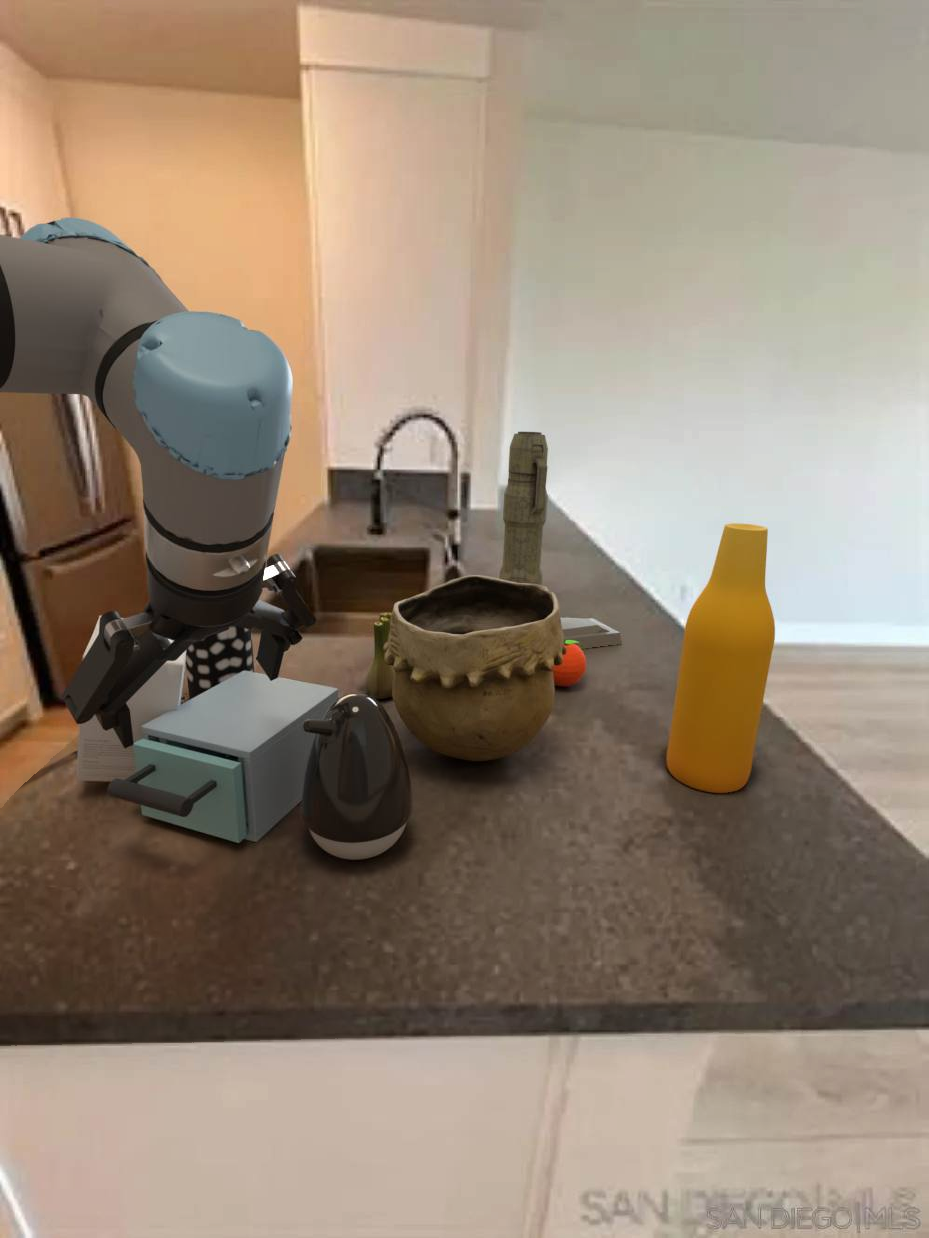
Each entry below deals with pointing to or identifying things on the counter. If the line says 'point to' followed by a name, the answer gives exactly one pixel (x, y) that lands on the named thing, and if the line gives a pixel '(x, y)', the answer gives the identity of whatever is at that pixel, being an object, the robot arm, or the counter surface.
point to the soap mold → (589, 632)
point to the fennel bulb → (380, 662)
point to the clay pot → (475, 665)
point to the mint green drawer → (187, 787)
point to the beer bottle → (724, 668)
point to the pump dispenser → (356, 780)
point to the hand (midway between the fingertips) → (199, 699)
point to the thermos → (525, 508)
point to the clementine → (570, 665)
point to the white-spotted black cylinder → (218, 659)
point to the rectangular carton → (156, 697)
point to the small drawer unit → (254, 736)
